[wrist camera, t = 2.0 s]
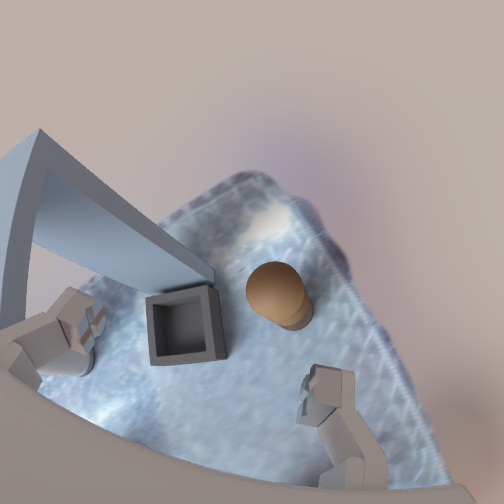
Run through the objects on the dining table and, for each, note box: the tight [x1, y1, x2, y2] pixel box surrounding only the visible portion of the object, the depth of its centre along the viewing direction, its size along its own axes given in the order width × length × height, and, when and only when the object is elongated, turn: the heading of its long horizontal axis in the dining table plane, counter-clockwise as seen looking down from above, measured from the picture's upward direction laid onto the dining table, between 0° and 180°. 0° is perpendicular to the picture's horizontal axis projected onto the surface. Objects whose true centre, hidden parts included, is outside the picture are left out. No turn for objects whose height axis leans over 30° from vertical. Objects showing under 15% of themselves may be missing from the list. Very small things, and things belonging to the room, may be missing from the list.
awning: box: [0, 129, 215, 330], centre depth 25 cm, size 12×10×28 cm
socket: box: [146, 285, 227, 366], centre depth 36 cm, size 8×8×4 cm
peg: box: [246, 262, 313, 331], centre depth 30 cm, size 4×4×12 cm
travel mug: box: [37, 348, 94, 376], centre depth 31 cm, size 6×7×20 cm
